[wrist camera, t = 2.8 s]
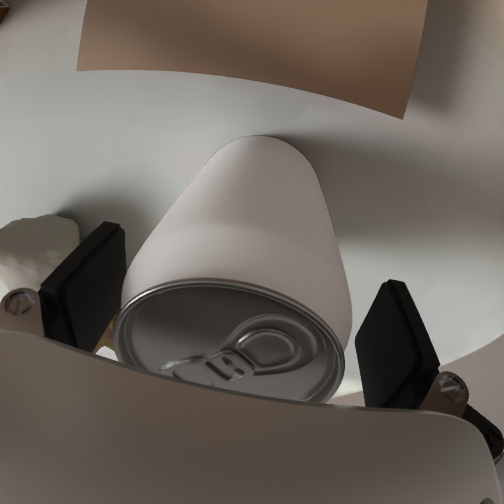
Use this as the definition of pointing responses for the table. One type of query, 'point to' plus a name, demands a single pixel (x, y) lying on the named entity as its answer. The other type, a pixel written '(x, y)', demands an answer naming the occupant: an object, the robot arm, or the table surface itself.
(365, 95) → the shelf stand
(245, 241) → the can
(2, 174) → the table surface
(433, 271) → the table surface
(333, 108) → the table surface
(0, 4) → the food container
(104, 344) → the ceramic sculpture
